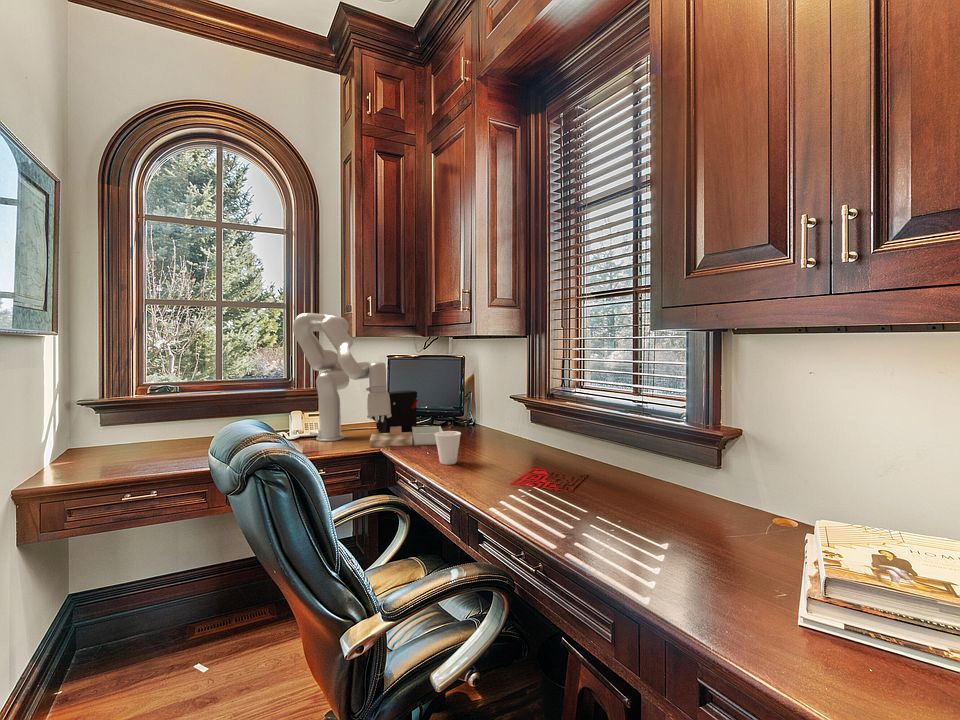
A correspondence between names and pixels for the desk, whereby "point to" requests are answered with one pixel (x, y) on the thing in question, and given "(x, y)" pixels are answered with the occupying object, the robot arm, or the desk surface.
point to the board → (391, 439)
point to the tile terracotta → (395, 430)
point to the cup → (447, 446)
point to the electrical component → (401, 411)
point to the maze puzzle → (534, 480)
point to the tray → (425, 435)
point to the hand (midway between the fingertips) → (380, 430)
